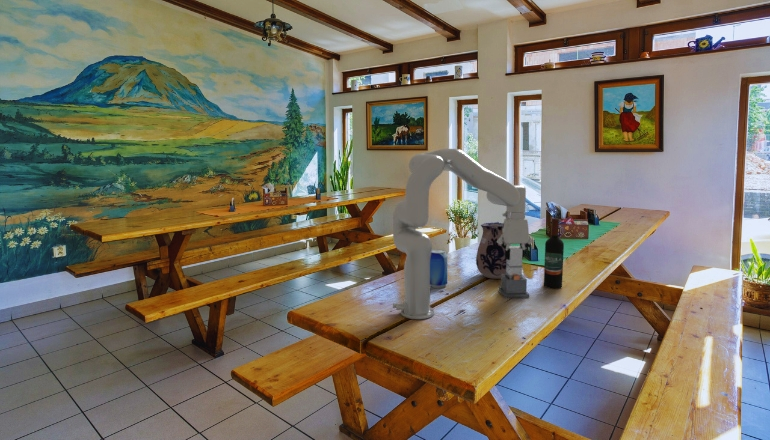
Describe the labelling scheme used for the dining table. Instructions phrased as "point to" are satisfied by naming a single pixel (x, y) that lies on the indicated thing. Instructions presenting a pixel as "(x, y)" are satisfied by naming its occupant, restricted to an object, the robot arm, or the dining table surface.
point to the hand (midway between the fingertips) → (514, 258)
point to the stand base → (513, 287)
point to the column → (514, 262)
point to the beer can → (438, 268)
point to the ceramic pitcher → (491, 252)
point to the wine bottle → (554, 258)
